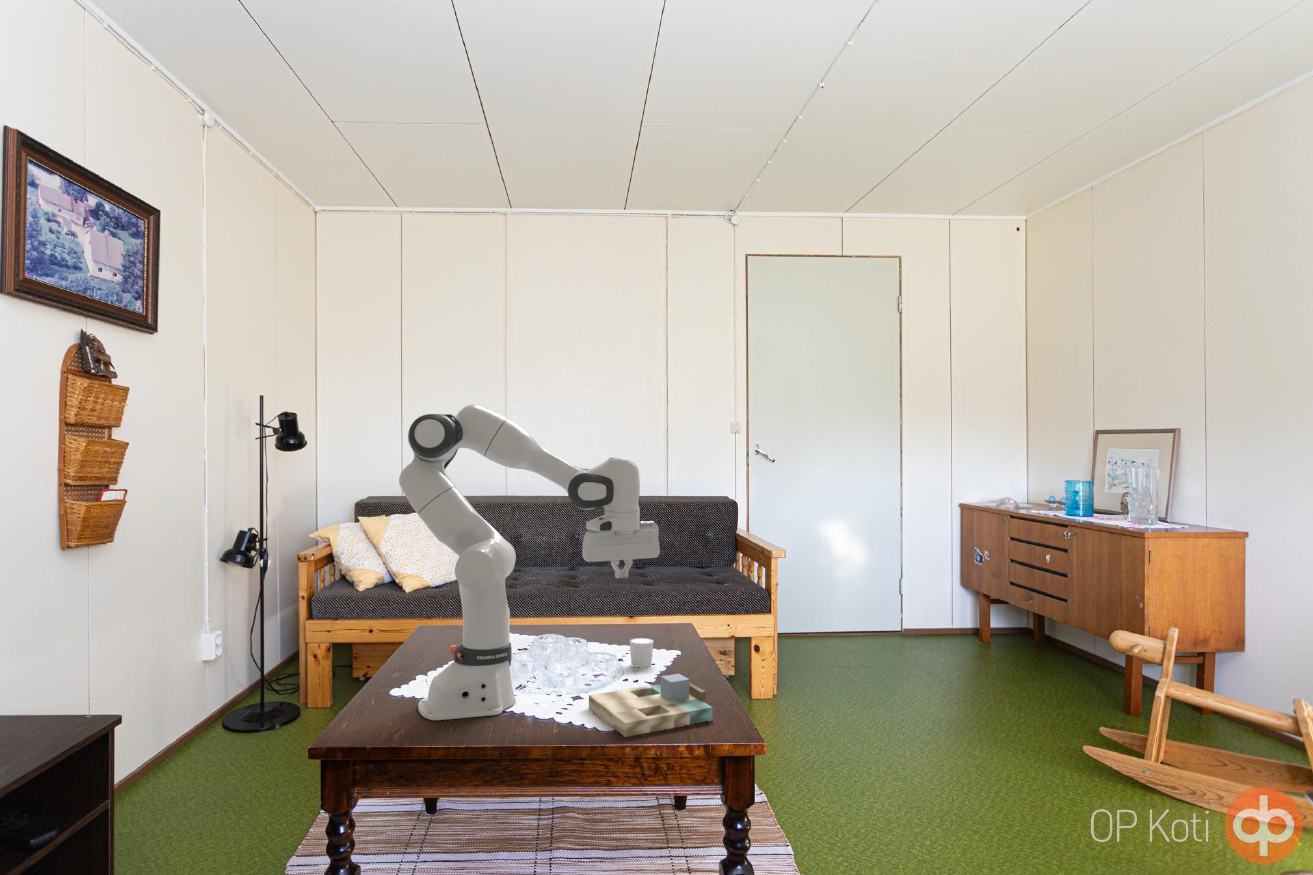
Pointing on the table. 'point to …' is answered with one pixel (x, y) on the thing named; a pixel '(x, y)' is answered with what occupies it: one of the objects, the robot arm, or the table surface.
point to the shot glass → (641, 652)
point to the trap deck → (650, 709)
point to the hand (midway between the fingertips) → (621, 577)
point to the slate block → (675, 687)
